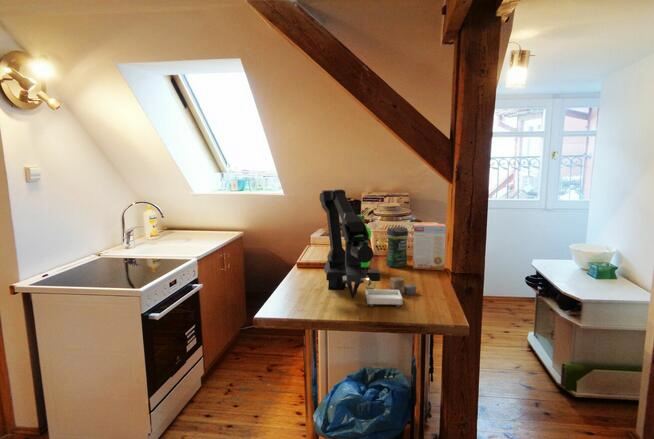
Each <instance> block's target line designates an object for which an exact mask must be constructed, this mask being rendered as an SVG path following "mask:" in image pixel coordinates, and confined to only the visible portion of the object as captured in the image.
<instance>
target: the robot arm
mask: <svg viewBox="0 0 654 439" xmlns="http://www.w3.org/2000/svg"><path fill="white" fill-rule="evenodd" d="M319 202H320V204H321V208H322V209H323V211H324V212H325V213H326V220H327V226H328V227H327V228H328V229H327V230H328V237H329V245H330V246H329V247H330V250H329V252H328V254H327V257H326V258H327V259H326V262H325V265H324V268H323V270H324V273H325V274H326V281H328V282H327V283H328V285H327V289H328V291H333V290H334V291H345V288H346V287H347V288H348V290H349V295H350V296H351V297H350V298H352V299H355V298H356V297H355V296H356V294H357V291H358V289H359V286H360V285H361V284H365V280H364V279H365V278H366V277H369V279H370V280H371V281H376V282H380V281H381V276H382V275H381V271H380V270H379V269H378V268H368V270H367V267H361V262H362V263H367V262H369V261H370V262H371V261H372V259H373V257H374V251H373V247H371V246H369V241H370V239H369V234H368V231H367V229H366V226H367V225H366V223H365V222H364V220H362V219H361V218H360V216H358V215H359V214H356V213H355V212H354V210H353V207H352V206H351V204H350V202H349V200H348V198H347V196H346V191H345V189H339V188H338V189H328V190H327V189H326V190H325V189H324V190H322V191H321V193H320V194H319ZM340 218H341V221H342V222H341V224H340ZM365 225H366V226H365ZM342 235H343V239H342ZM362 235H363V236H362ZM354 236H358V237H354ZM343 240H344V241H345V242H344V244H345V245H344V248H345V249H344V248H343ZM366 241H368V242H366Z"/></svg>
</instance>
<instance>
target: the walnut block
mask: <svg viewBox="0 0 654 439" xmlns="http://www.w3.org/2000/svg"><path fill="white" fill-rule="evenodd" d="M404 286H405V279H404V278H402V277H400V276H396V277H395V276H394V277H390V278H389V290H399V291H400V294H401V296H402V295H405V294H404Z"/></svg>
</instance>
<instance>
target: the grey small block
mask: <svg viewBox="0 0 654 439" xmlns="http://www.w3.org/2000/svg"><path fill="white" fill-rule="evenodd" d="M403 295H406V296H415V295H417V286H416V285H414V284H404V294H403Z"/></svg>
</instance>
